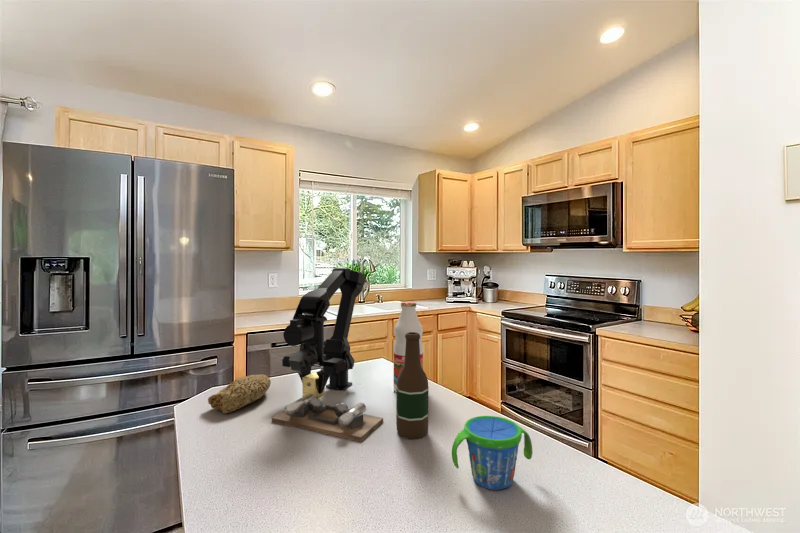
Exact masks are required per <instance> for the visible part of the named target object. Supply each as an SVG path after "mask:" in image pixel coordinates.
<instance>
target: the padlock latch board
mask: <svg viewBox="0 0 800 533" xmlns="http://www.w3.org/2000/svg"><path fill="white" fill-rule="evenodd" d="M334 409H335V406H333V405H329V404H327V405H326V404H325V405H324V406H322V405H321V409H320V410H319V411H318V412H316V413H313V412H311V411H310V410H309V408H308V403H307V404H305V405H304V406H302V407H300V410H299V411H297V412H296V413H294V414H292V415H290V416H288V415H287V414H286V413H285V411H281V412H280V413H278V414H276V415H274V416H273V417H271V422H272V423H277V424H281V425H285V426H290V427H293V428H298V429H303V430H307V431H311V432H317V433H321V434H325V435H330V436H334V437H338V438H343V439H347V440H353V441H356V442H362V441H364V440H365V438H367V437H369V435H370V434H371V433H373V431H374V430H376V429H377V428H378V427H379V426H380V425H382V423H384V417H380V416H376V415H375V416H374V415H370V414H366V413H365V414H364V413H363V414H361V413H360V414H359V415H358V416H356V417H355V418H354V419H353V420H352V422H351V423H350V424H348V425H347V426H346V427H342V426H340V425H339V423H338V419H339V417H337V415H336V414H335V411H334ZM350 409H351V408H349V410H350Z"/></svg>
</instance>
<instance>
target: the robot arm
mask: <svg viewBox="0 0 800 533" xmlns="http://www.w3.org/2000/svg"><path fill="white" fill-rule="evenodd" d="M365 284H366V278H365V275H364V274H363V272H361V271H356V270H353V269H350V268H348V267H343V266H341V267H338V266H337V267H334V268H333V269H332V271H331V273H330V274H329V275H328V276H327V277H326V278H325V279H324V281H323V282H322V283H321V284H320V285H319V286H318V287H317V288H316V289H312V290H310V291H308V292H306V293H305V294H304V295H303V296H302V297H301V298H300V299H299V303H298V304H297V307H296V310H295V311H294V313H293V314H294V315H293V317H292V319H290V320H289V324H288V325H287V326H286V327H285V329H284V331H283V340H284V342H285V343H286V344H287V345H289V346H291V347H296V346H298V345H299V349H298V351H297V350H296V351H295V352H292V353H289V354H286V355H284V356H283V358H282V360H281V366H282V367H285V368H290V370H292V371H295V373H297V374H298V376H299V378H300V380H301V381H300V382H302V377H304V376H306V375H308V374H311V373H312V367H319V368H320V370H319V371H316V372H315V373H317V375H318V376H319V394H321V393H322V392H323V390H324V388H326V389H327V388H328V389H333V390H340V391H343V390H345V389H347V388H348V387H350V386H352V385H353V382H351V381H349V370H353V368H354V366H355V361H356V360H355V358H354V357H353V355H352V354H351V346H350V343H349V340H348V336H349V334H350V333H349V332H350V328H351V324H352V317H353V314H354V313H353V312H354V308H355V304H356V298H357V297H358V296H359V295H360V294H361V293H362V292H363V288H364V285H365ZM338 290H340V293H341V297H340V300H339V306H338V309H337V314H336V320H335V324H334V328H333V332H332V333H333V334H332V336H331V337H330V338H326V339H325V336H324V335H325V331H324V330H325V326H324V324H325V322H326V321H328V318H327V317H326V316H325V314H326V313H327V311H328V309H329V308H330V305H331V303H330V300H331V298H332V297H333V296H334V295H335V293H336V292H337V291H338ZM328 380H329V381H328ZM327 382H329V383H328V384H327Z"/></svg>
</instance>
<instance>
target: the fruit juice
mask: <svg viewBox="0 0 800 533" xmlns="http://www.w3.org/2000/svg"><path fill="white" fill-rule="evenodd" d="M400 308H401V311H400V314H399V317H398V319H397V322H396V323H395V326H394V329H393V330H394V331H393V332H394V337H395V341H394V343H393V389H394V391H395V392H396V393H397V378H398V375H399V372H400V371H401V369H402V368H403V366H404V361H405V348H406V338H405V335H406V333H409V332H416V333H419V334H420V339H419V345H420V362H421V367H422V369H423V370H424V345H423V344H424V343H423V341H422V338H423V333H424V331H423V328H424V327H423V325H422V324H421V322H420V319H419V317H418V314H417V313H418V312H417V311H416V308H417V302H415V301H402V302H400Z"/></svg>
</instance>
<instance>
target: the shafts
mask: <svg viewBox="0 0 800 533" xmlns="http://www.w3.org/2000/svg"><path fill="white" fill-rule="evenodd" d="M307 403H308V408H309V410H310V411H311V412H313V413H316V412H318V411H319V410H320V409H321V406H322V401H321V400H320V398H319V399H318V398H315V397H314V396H313V395H312V394H307V395H306V396H304V397H299V398H298V399H296V400H294V401H292V402H290V403H288V404H287V405H285V406H284V408H283V409H284V411H285V413H286V414H287V415H288V416H290V415H292V414H294V413H296V412H297V411H299V410H300V407H302V406H304V405H305V404H307ZM334 407H335V409H334V411H335V414H336V415H337V417H339V419H338V423H339V425H340V426H342V427H346V426H347V425H348V424H350V423H351V422H352V420H353V419H354V418H355V417H356V416H358V415H359V414H360V413H361V414H364V413H365V412H366V411H367V406H366V404H365V403H363V402H358V403H357V404H356V405H354V406H353V407H352V408H349V406H348V405H347V403H346V402H344V401H342V402H339V403H337V404H336V405H335V406H334ZM349 409H350V410H349Z"/></svg>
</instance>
